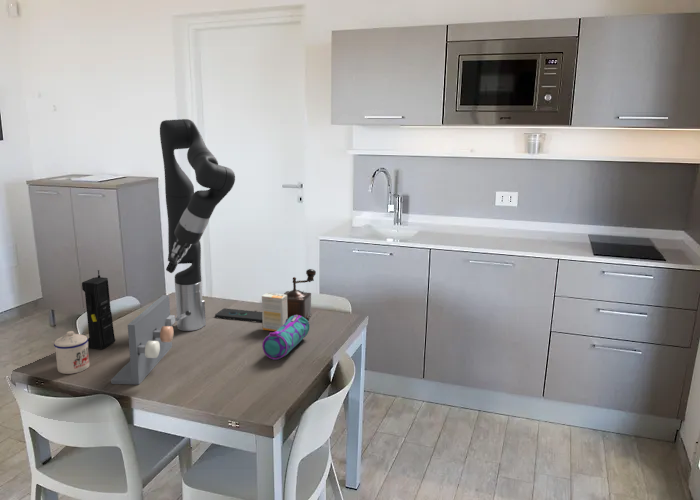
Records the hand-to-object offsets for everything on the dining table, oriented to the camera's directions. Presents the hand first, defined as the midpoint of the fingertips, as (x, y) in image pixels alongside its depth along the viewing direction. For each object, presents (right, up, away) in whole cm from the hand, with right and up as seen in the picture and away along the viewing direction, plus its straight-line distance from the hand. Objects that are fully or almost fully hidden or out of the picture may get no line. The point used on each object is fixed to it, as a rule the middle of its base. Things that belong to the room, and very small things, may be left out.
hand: (169, 270), depth 163 cm
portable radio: (-28, -26, +17) cm, 42 cm away
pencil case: (+33, -27, +17) cm, 46 cm away
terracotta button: (-4, -22, +2) cm, 22 cm away
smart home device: (+13, -20, +47) cm, 53 cm away
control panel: (-8, -29, +4) cm, 30 cm away
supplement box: (+27, -23, +34) cm, 49 cm away
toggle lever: (+1, -16, +13) cm, 20 cm away
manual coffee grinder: (+34, -20, +48) cm, 62 cm away
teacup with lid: (-29, -29, +2) cm, 41 cm away
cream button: (-4, -24, -9) cm, 26 cm away
